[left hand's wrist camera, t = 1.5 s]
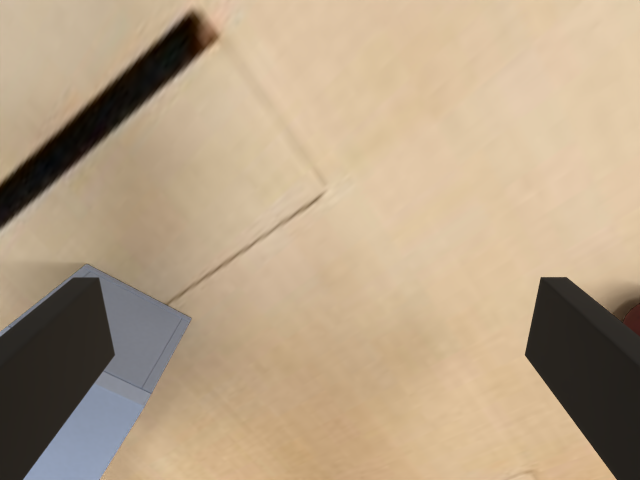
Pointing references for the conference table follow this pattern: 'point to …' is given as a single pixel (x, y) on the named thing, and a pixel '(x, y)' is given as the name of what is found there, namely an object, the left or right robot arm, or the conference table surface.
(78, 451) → the lid
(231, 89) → the conference table surface
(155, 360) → the chest
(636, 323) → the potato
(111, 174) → the conference table surface
